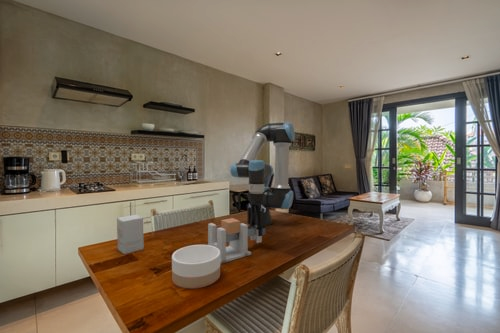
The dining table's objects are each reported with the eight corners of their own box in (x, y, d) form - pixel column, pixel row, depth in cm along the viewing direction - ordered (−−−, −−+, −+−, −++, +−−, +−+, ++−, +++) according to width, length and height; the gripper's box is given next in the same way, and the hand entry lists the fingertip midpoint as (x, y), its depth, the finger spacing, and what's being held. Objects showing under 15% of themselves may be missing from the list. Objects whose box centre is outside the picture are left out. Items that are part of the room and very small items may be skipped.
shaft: (259, 231, 118) (259, 222, 118) (265, 234, 114) (265, 224, 114) (216, 241, 104) (216, 231, 103) (221, 245, 100) (221, 234, 100)
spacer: (232, 228, 109) (232, 218, 109) (239, 232, 104) (239, 220, 104) (221, 231, 106) (221, 220, 105) (228, 234, 101) (228, 223, 101)
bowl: (174, 293, 75) (174, 267, 75) (169, 269, 91) (169, 248, 90) (226, 282, 82) (226, 258, 81) (213, 261, 98) (213, 241, 97)
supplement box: (137, 244, 117) (136, 214, 116) (144, 249, 110) (143, 217, 110) (117, 249, 110) (116, 217, 110) (123, 254, 104) (122, 221, 103)
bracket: (236, 246, 114) (236, 218, 114) (251, 254, 105) (251, 224, 104) (204, 254, 104) (203, 224, 104) (217, 264, 95) (217, 231, 94)
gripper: (240, 191, 117) (240, 237, 118) (261, 195, 104) (260, 248, 105) (252, 189, 122) (252, 234, 123) (274, 194, 108) (273, 244, 109)
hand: (256, 240), depth 114 cm, fingers closed on shaft, 4 cm apart
